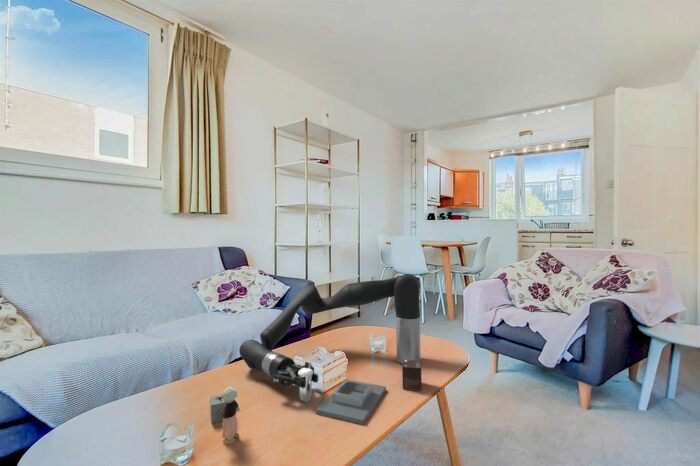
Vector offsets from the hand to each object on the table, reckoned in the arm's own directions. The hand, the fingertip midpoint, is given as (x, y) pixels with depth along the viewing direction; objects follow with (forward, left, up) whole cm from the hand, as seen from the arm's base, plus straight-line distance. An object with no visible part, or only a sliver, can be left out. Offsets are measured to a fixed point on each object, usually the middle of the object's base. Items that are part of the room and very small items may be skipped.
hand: (310, 381), depth 99 cm
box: (-21, +26, -6) cm, 34 cm away
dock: (-5, +12, -6) cm, 14 cm away
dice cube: (+16, -19, -6) cm, 26 cm away
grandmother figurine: (+23, -9, -6) cm, 26 cm away
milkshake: (-1, -2, -6) cm, 7 cm away
